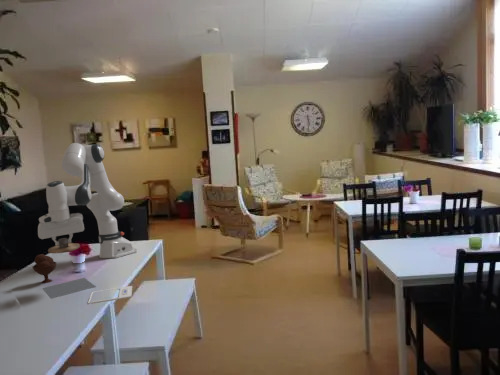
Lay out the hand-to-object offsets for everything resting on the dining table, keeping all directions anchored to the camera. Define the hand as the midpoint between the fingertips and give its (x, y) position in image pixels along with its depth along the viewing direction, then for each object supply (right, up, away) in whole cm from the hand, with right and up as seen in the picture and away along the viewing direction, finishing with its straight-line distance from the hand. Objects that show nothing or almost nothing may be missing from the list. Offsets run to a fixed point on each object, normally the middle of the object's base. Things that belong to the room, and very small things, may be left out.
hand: (63, 244), depth 208 cm
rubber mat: (+2, -22, +2) cm, 22 cm away
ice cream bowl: (-15, -22, +15) cm, 30 cm away
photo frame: (+27, -22, -12) cm, 36 cm away
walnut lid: (0, -2, 0) cm, 2 cm away
